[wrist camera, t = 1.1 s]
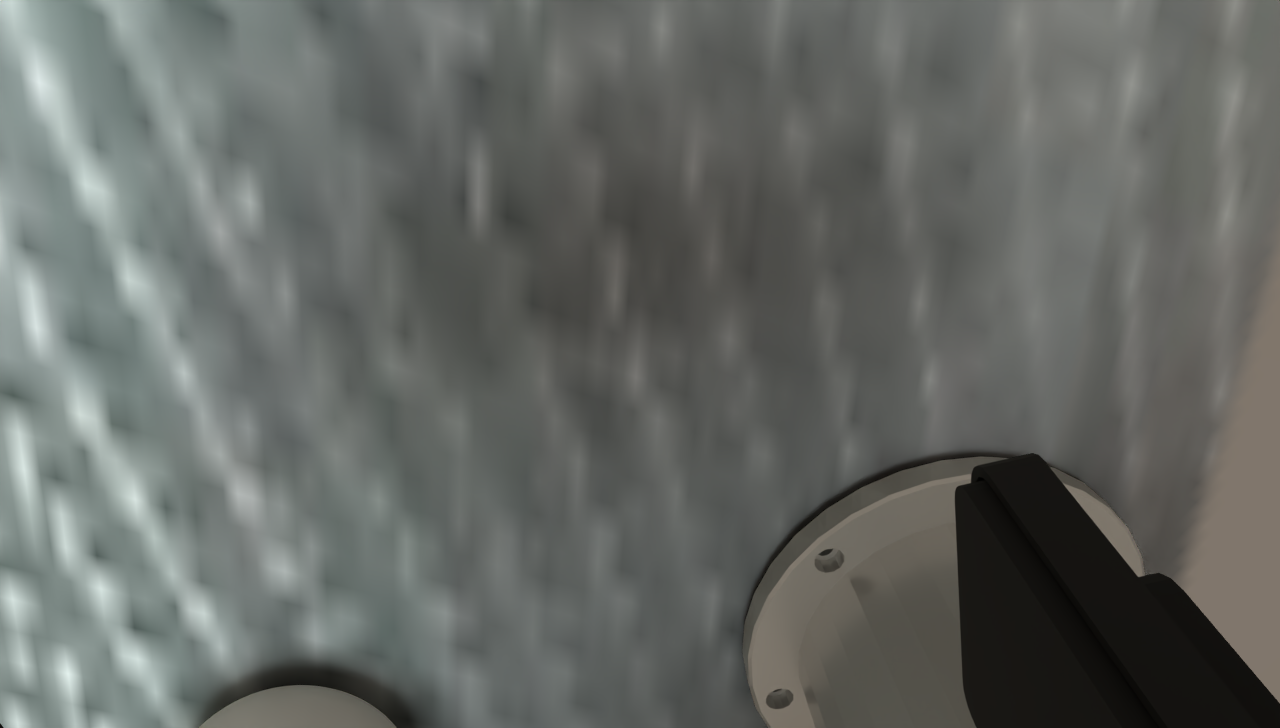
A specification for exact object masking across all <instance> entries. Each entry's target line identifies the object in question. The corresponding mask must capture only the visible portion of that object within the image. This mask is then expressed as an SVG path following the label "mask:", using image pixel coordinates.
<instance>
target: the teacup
mask: <svg viewBox="0 0 1280 728" xmlns="http://www.w3.org/2000/svg"><path fill="white" fill-rule="evenodd" d="M199 728H397V727H396V726H395V725H394V724H393V723H392V722H391V721H390V720H389V719H388V718H387V717H386V716H385V715H384V714H383V713H382V712H381V711H379V710H378V709H377V708H375V707H374V706H372V705H371V704H369V703H368V702H366V701H364V700H362V699H360V698H358V697H356V696H354V695H351V694H349V693H346V692H343V691H340V690H336V689H332V688H327V687H321V686H312V685H291V686H282V687H275V688H270V689H266V690H263V691H259V692H256V693H253V694H251V695H248V696H246V697H243V698H241V699H239V700H237V701H235V702H233V703H231V704H230V705H228V706H226V707H225V708H223V709H221V710H220V711H218V712H217V713H216V714H214V715H213V716H212V717H210V718H209V719H208V720H207V721H205V722H204V723H203V724H202V725H201V726H200V727H199Z"/></svg>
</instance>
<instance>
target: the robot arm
mask: <svg viewBox="0 0 1280 728" xmlns="http://www.w3.org/2000/svg"><path fill="white" fill-rule="evenodd" d="M742 654H743V659H744V665H745V670H746V676H747V681H748V684H749V687H750V691H751V694H752V697H753V701H754V704H755V707H756V709H757V711H758V712H759V714H760V716H761V717H762V719H763V720H764V722H765V723H766V725H767V726H768V728H1280V703H1279V702H1278V701H1277V700H1276V699H1275V698H1274V696H1273V695H1272V694H1271V693H1270V692H1269V690H1268V689H1267V688H1266V687H1265V686H1264V685H1263V683H1262V682H1261V681H1260V680H1259V679H1258V678H1257V676H1256V675H1255V674H1254V673H1253V672H1252V670H1251V669H1250V668H1249V667H1248V666H1247V665H1246V663H1245V662H1244V661H1243V660H1242V659H1241V657H1240V656H1239V655H1238V654H1237V653H1236V652H1235V650H1234V649H1233V648H1232V647H1231V646H1230V644H1229V643H1228V642H1227V641H1226V640H1225V639H1224V637H1223V636H1222V635H1221V634H1220V633H1219V632H1218V631H1217V629H1216V628H1215V627H1214V626H1213V624H1212V623H1211V622H1210V621H1209V620H1208V619H1207V617H1206V616H1205V615H1204V614H1203V613H1202V612H1201V610H1200V609H1199V608H1198V607H1197V606H1196V605H1195V603H1194V602H1193V601H1192V600H1191V599H1190V597H1189V596H1188V595H1187V594H1186V593H1185V592H1184V590H1182V589H1181V588H1180V587H1179V586H1178V585H1177V584H1176V583H1175V582H1174V581H1173V580H1172V579H1171V578H1169V577H1167V576H1164V575H1162V574H1160V573H1156V574H1150V575H1145V572H1144V566H1143V560H1142V555H1141V553H1140V551H1139V549H1138V547H1137V545H1136V543H1135V541H1134V539H1133V537H1132V535H1131V532H1130V530H1129V529H1128V528H1127V527H1126V525H1125V524H1124V523H1123V522H1122V521H1121V519H1120V518H1119V517H1118V516H1117V514H1116V513H1115V512H1114V511H1113V510H1112V508H1111V507H1110V506H1109V505H1108V503H1107V502H1106V501H1104V500H1103V499H1102V498H1101V497H1100V496H1099V495H1097V494H1096V493H1095V492H1094V491H1093V490H1092V489H1090V488H1089V487H1088V486H1087V485H1086V484H1085V483H1083V482H1081V481H1079V480H1077V479H1075V478H1073V477H1071V476H1069V475H1067V474H1065V473H1063V472H1061V471H1060V470H1058V469H1056V468H1053V467H1049V466H1048V464H1047V463H1046V462H1045V461H1044V460H1043V459H1042V458H1041V457H1040V456H1039V455H1037V454H1034V453H1031V454H1026V455H1022V456H1017V457H1013V458H998V457H983V456H981V457H970V458H960V459H950V460H941V461H937V462H933V463H929V464H925V465H921V466H918V467H914V468H910V469H906V470H902V471H899V472H897V473H894V474H892V475H890V476H887V477H885V478H883V479H880V480H878V481H875V482H873V483H871V484H868V485H866V486H864V487H861V488H860V489H858V490H856V491H855V492H853V493H852V494H850V495H848V496H847V497H845V498H843V499H842V500H840V501H838V502H837V503H835V504H834V505H832V506H830V507H829V508H827V509H825V510H824V511H823V512H822V513H821V514H820V515H818V516H817V517H816V518H815V519H814V520H812V521H811V522H810V523H809V524H808V525H807V526H805V527H804V528H803V529H802V530H801V531H799V532H798V533H797V534H796V535H795V536H794V537H793V538H792V540H791V541H790V542H789V543H788V544H787V545H786V547H785V548H784V549H783V550H782V551H781V552H780V554H779V555H778V556H777V557H776V558H775V560H774V561H773V562H772V563H771V565H770V566H769V568H768V570H767V572H766V573H765V575H764V577H763V579H762V580H761V582H760V584H759V586H758V587H757V589H756V591H755V593H754V595H753V598H752V601H751V605H750V608H749V611H748V614H747V617H746V620H745V623H744V636H743V648H742ZM0 728H3V727H2V725H1V724H0Z"/></svg>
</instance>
